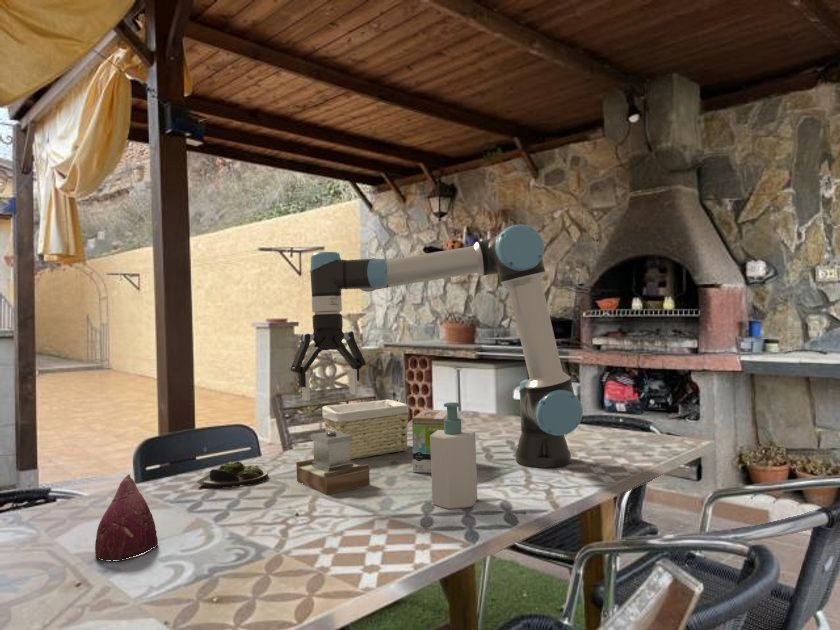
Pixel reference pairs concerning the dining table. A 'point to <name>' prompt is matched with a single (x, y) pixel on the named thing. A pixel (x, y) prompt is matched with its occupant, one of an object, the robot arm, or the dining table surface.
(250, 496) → the dining table surface
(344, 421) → the storage basket
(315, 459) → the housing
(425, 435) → the tea box
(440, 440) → the soap bottle
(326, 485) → the stand
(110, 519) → the vegetable
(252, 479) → the salad plate
